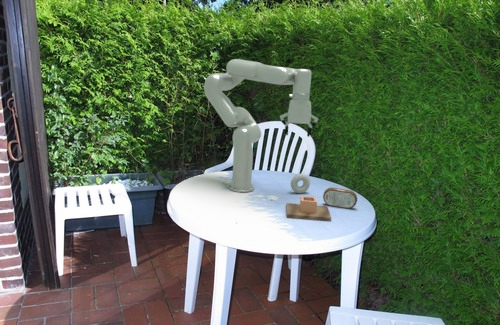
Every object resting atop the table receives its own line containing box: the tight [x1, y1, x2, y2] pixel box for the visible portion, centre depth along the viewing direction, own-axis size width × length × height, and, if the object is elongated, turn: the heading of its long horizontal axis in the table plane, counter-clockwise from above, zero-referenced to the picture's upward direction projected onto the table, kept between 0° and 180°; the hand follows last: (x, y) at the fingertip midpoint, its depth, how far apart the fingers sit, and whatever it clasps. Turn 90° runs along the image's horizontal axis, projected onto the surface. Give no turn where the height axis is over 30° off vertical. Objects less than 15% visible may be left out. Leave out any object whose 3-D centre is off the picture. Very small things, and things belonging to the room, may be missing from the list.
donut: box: [290, 173, 311, 194], centre depth 192 cm, size 10×3×10 cm, turn 104°
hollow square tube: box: [299, 195, 318, 213], centre depth 165 cm, size 6×6×5 cm
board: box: [285, 202, 332, 222], centre depth 166 cm, size 18×14×2 cm
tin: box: [322, 186, 358, 210], centre depth 176 cm, size 15×3×8 cm, turn 71°
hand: (297, 135), depth 177 cm, fingers open, 9 cm apart
